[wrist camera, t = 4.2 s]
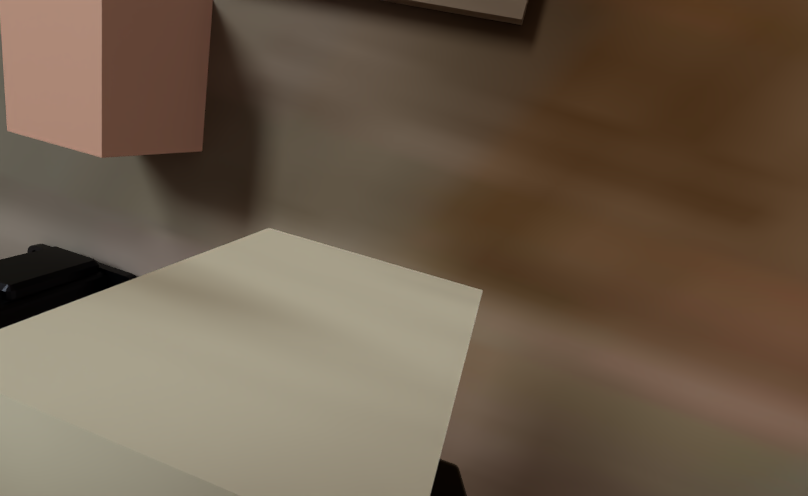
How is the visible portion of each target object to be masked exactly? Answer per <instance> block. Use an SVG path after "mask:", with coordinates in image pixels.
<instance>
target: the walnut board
mask: <svg viewBox="0 0 808 496" xmlns="http://www.w3.org/2000/svg"><path fill="white" fill-rule="evenodd" d="M381 1H387V2H393V3H399V4H404V5H410V6H416V7H421V8H427V9H433V10H439V11H444V12H450V13H456V14H461V15H467V16H473V17H478V18H484V19H490V20H496V21H501V22H507V23H513V24H518V25H522V24H523V20H524V16H525V12H526V8H527V5H528V1H529V0H381Z"/></svg>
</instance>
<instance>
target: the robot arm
mask: <svg viewBox="0 0 808 496" xmlns="http://www.w3.org/2000/svg"><path fill="white" fill-rule="evenodd" d="M134 278H137V277H136V276H135V275H133V274H131V273H128V272H125V271H122V270H119V269H116V268H113V267H110V266H107V265H104V264H101V263H99V262H97V261H96V260H94V259H92V258H89V257H86V256H83V255H80V254H77V253H74V252H71V251H68V250H65V249H62V248H59V247H50V246H47V245H44V244H37V245H32V246H30V247H29V248H28V253H26V254H22V255H18V256H13V257H9V258H5V259H1V260H0V329H1V328H4V327H7V326H9V325H12V324H15V323H17V322H20V321H23V320H25V319H28V318H31V317H33V316H36V315H39V314H41V313H44V312H47V311H49V310H52V309H55V308H57V307H60V306H63V305H65V304H68V303H71V302H73V301H76V300H79V299H81V298H84V297H87V296H89V295H92V294H95V293H97V292H100V291H102V290H105V289H108V288H110V287H113V286H116V285H118V284H121V283H124V282H126V281H129V280H132V279H134ZM430 496H467V495H466V491H465V488H464V484H463V481H462V478H461V474H460V471H459V468H458V467H457V465H455V464H453V463H450V462H447V461H444V460H442V459H439V463H438V467H437V471H436V474H435V478H434V482H433V486H432V490H431V494H430Z"/></svg>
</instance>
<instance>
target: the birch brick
mask: <svg viewBox="0 0 808 496" xmlns="http://www.w3.org/2000/svg"><path fill="white" fill-rule="evenodd" d="M482 291H483V290H480V289H476V288H473V287H469V286H466V285H463V284H459V283H456V282H452V281H449V280H445V279H442V278H439V277H435V276H432V275H428V274H425V273H421V272H418V271H415V270H411V269H408V268H404V267H401V266H398V265H394V264H391V263H387V262H384V261H380V260H377V259H374V258H370V257H367V256H363V255H360V254H357V253H353V252H350V251H346V250H343V249H339V248H336V247H333V246H329V245H326V244H322V243H319V242H316V241H312V240H309V239H305V238H302V237H298V236H295V235H292V234H288V233H285V232H281V231H278V230H275V229H271V228H267V229H265V230H262V231H259V232H257V233H254V234H251V235H249V236H246V237H243V238H241V239H238V240H235V241H233V242H230V243H228V244H225V245H222V246H220V247H217V248H214V249H212V250H209V251H206V252H204V253H201V254H198V255H196V256H193V257H190V258H188V259H185V260H182V261H180V262H177V263H174V264H172V265H169V266H166V267H164V268H161V269H158V270H156V271H153V272H150V273H148V274H145V275H142V276H140V277H137V278H134V279H132V280H129V281H126V282H124V283H121V284H118V285H116V286H113V287H110V288H108V289H105V290H102V291H100V292H97V293H95V294H92V295H89V296H87V297H84V298H81V299H79V300H76V301H73V302H71V303H68V304H65V305H63V306H60V307H57V308H55V309H52V310H49V311H47V312H44V313H41V314H39V315H36V316H33V317H31V318H28V319H25V320H23V321H20V322H17V323H15V324H12V325H9V326H7V327H4V328H1V329H0V496H430V494H431V490H432V486H433V482H434V478H435V474H436V471H437V467H438V463H439V459H440V455H441V451H442V447H443V443H444V439H445V436H446V432H447V428H448V424H449V420H450V416H451V412H452V408H453V404H454V400H455V397H456V393H457V389H458V385H459V381H460V377H461V373H462V369H463V365H464V362H465V358H466V354H467V350H468V346H469V342H470V338H471V334H472V330H473V326H474V323H475V319H476V315H477V311H478V307H479V303H480V299H481V295H482Z"/></svg>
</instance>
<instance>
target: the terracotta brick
mask: <svg viewBox="0 0 808 496" xmlns="http://www.w3.org/2000/svg"><path fill="white" fill-rule="evenodd" d="M212 6H213V0H0V20H1V36H2V52H3V68H4V84H5V100H6V116H7V131H10V132H13V133H17V134H20V135H24V136H27V137H31V138H34V139H38V140H41V141H45V142H48V143H52V144H55V145H59V146H63V147H66V148H70V149H73V150H77V151H80V152H84V153H87V154H91V155H94V156H98V157H101V158H103V157H119V156H135V155H151V154H167V153H184V152H200V151H202V147H203V133H204V119H205V105H206V91H207V77H208V63H209V48H210V34H211V20H212Z"/></svg>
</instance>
